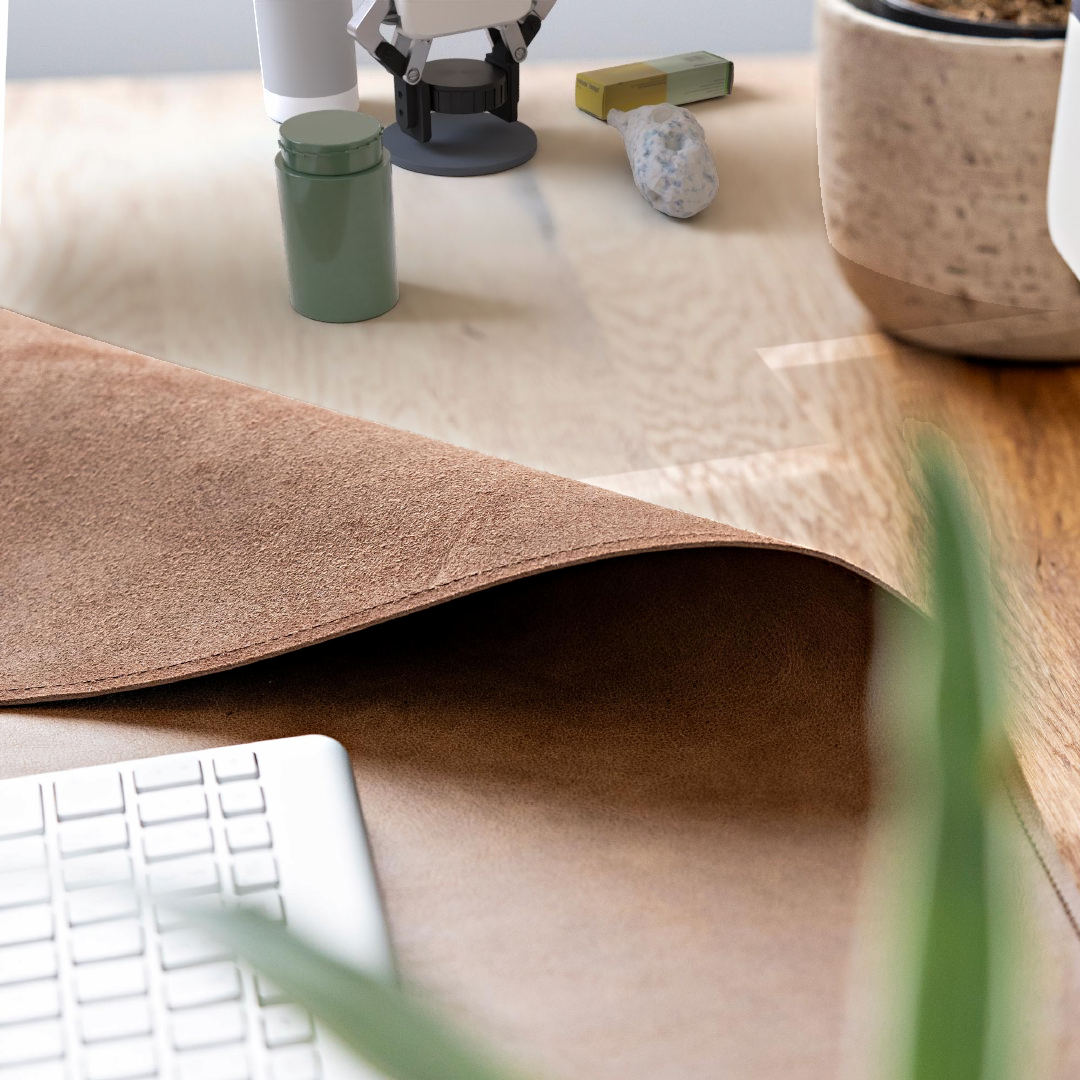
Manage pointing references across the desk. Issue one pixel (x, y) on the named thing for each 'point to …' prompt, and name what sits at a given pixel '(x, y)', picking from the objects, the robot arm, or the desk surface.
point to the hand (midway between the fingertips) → (459, 124)
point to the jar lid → (465, 85)
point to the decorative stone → (668, 157)
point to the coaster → (463, 145)
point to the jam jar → (337, 215)
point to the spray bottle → (306, 56)
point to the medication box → (654, 83)
